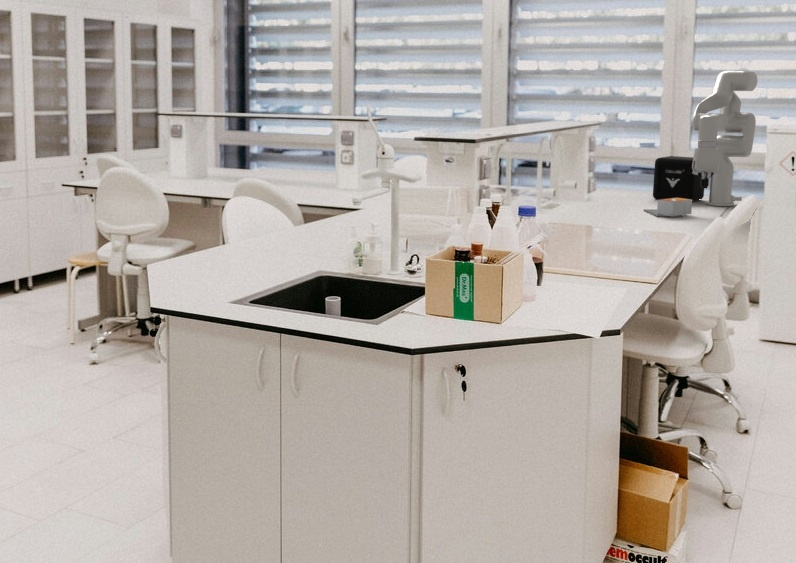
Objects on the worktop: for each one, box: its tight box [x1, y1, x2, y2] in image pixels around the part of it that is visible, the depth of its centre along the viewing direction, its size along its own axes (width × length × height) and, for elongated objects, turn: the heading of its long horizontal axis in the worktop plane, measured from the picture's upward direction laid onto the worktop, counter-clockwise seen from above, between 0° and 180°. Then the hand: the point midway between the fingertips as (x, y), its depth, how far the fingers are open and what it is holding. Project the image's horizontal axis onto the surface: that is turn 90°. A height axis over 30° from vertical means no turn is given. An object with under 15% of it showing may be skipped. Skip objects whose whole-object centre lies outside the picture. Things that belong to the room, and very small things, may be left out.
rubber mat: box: [643, 208, 684, 218], centre depth 392 cm, size 11×18×1 cm, turn 3°
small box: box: [656, 198, 693, 216], centre depth 386 cm, size 8×6×13 cm
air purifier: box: [652, 155, 706, 202], centre depth 435 cm, size 20×15×20 cm
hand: (704, 187), depth 391 cm, fingers closed
